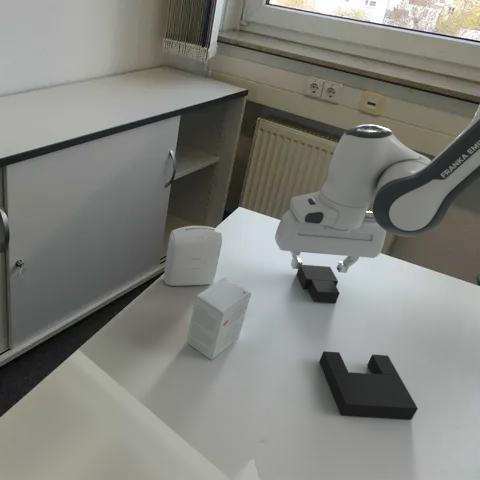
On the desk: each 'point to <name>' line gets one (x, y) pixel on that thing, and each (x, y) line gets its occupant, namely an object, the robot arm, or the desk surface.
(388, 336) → the desk surface
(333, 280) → the black block
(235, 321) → the small box
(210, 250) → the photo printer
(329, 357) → the black notched block
